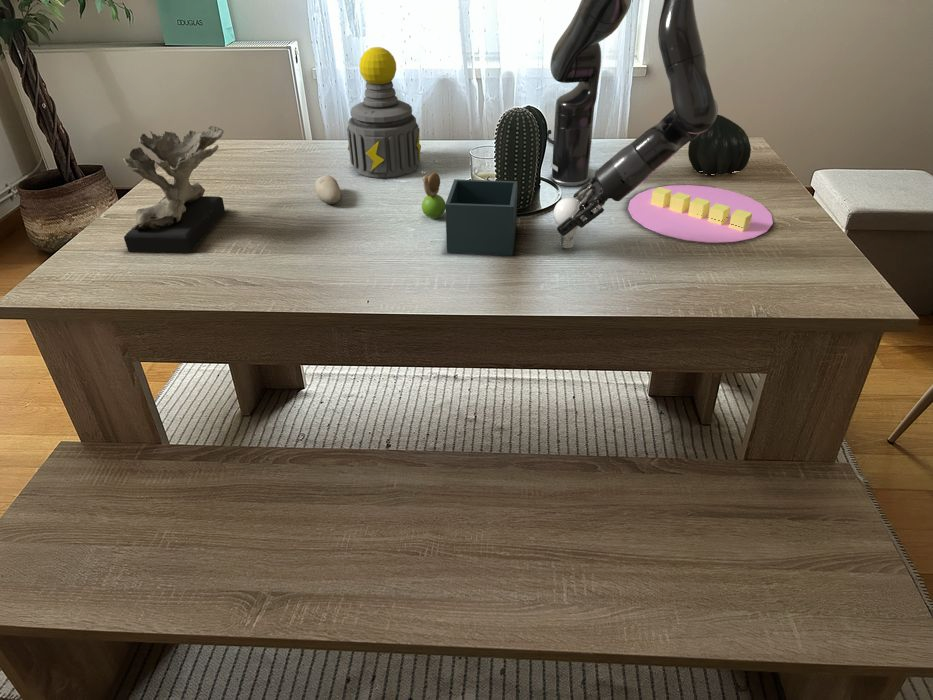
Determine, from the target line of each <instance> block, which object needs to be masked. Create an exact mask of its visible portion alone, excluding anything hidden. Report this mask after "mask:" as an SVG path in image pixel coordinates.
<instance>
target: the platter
mask: <svg viewBox="0 0 933 700" xmlns="http://www.w3.org/2000/svg"><path fill="white" fill-rule="evenodd" d="M627 211H628V212H629V214H630V216H631V218H632V219H633V220H634V221H636V222H637V223H638V224H640V225H641V226H642V227H644V228H645V229H648V230H650V231H653V232H654V233H657V234H659V235H662V236H665V237H669V238H674V239H678V240H682V241H688V242H696V243H697V242H698V243H706V244H722V243H723V244H726V243H738V242H743V241H747V240H753V239H755V238H757V237H760V236H761V235H764V234H765V233H767V232H768V231H769V230H770V228H771V227H772V226H773V224H774V220H773V214H772V212H770V210H768V208H766V206H765V205H764V204H762V203H760V202H758V201H756V200H755V199H753V198H751V197H750V196H747V195H745V194H741V193H738V192H735V191H732V190H728V189H723V188H717V187H713V186H705V185H695V184H677V185H675V184H673V185H665V186H659V187H652V188H649V189H647V190H644V191H641V192H638V193H637V194H635V196H633V197H632V198H631V199H629V204H628V208H627ZM707 211H708V212H707ZM706 212H707V213H706ZM697 214H698V215H697ZM703 214H704V215H703ZM701 215H702V216H701ZM708 217H709V218H708ZM726 217H728V218H726ZM711 218H713V219H711ZM725 218H726V219H725ZM714 219H716V220H714ZM724 219H725V220H724ZM718 220H720V221H718ZM722 220H723V221H722ZM721 221H722V222H721ZM729 223H730V224H729ZM749 223H750V224H749ZM731 224H734V225H731ZM747 224H749V225H747ZM735 225H737V226H735ZM746 225H747V226H746ZM738 226H740V227H738ZM745 226H746V227H745ZM741 227H744V228H741Z"/></svg>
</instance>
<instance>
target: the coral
mask: <svg viewBox="0 0 933 700" xmlns="http://www.w3.org/2000/svg"><path fill="white" fill-rule="evenodd" d="M207 129H208V130H207V131H195V130H190V129H189V130H188V131H187V134H185V135H184V136H183V138H182V141H181V140H180V138H179V137H180V136H179V135H177V133H175V132H173V131H164V132H163V133H162V134H156V133H153V131H151V130H150V131H149V133H150V136H151V137H149V136H148V135H146V133H141V136H139V138H138V142H139V143H140V145H142V146H143V147H144V148H146V149H148V150H150V151H151V152H152V153H153V154H154V155H155V156H156V157H157V159H152V158H151V157H150V156H149V155H148V153H145V151H144V150H143V148H142V147H140V146H138V147H134V148H131V149H130V150H129V154H127V156H128V157H129V158H125V157H123V159H122V160H123V162H124V164H125V165H126V166H127V167H128V168H129V169H130V170H131V171H132V172H134V173H136V174H137V175H139V176H140V177H141V178H143V179H144V180H146V181H149V182H151V183H153V184H155V185H156V186H158V187H159V188H160V189H161V190H162V192H163V194H164V197H163V198H161V200H160V201H159V202H158V203H156V204H154V205H152V206H149V207H142V208H138V209H137V210H136V212H135V221H136V222H135V225H134V226H133V227H132V228H131V229H130V230H128V232H127V233H126V234H125V235H124V236H123V240H124V243H125V246H126V248H127V252H129V253H166V254H167V253H169V254H170V253H172V254H191V253H192V252H193V251H194V250H195V248H196V247H197V246H198V245H199V243H200V242H201V241H202V240H203V238H204V237H206V235H207V234H208V232H209V231H210V230H211V229H212V228H213V226H215V224H216V223H217V222H218V220H219V219H221V217H222V216H223V214H225V212H226V209H225V204H224V199H223V197H222V196H219V195H217V196H215V195H214V196H212V195H211V196H210V195H205V192H206V189H205V188H204V187H203V186H202V185H201V183H199V182H194V183H193V184H191V183H190V177H191V175H192V173H193V171H194V170H195V169H197V168H198V167H199V165H200V164H202V162H203V161H204V160H206V159H207V158H210V157H211V156H213V155H214V154H215V152H217V151H218V149H219V145H218V144H216V145H214V146H213V147H212V148H208V147H210V146H212V145H213V144H215V143H216V142H217V141H218V140H219V139H221V138H222V137H223V134H225V133H224V132H225V131H224V129H222V128H220V127H217V126H215V125H210V126H208V127H207ZM207 148H208V149H207ZM155 164H156V165H157V166H159V168H161V169H162V170H164V172H165V173H166V174H167V175H168V176H170V177H172V178H173V182H171V183H170V182H168V180H167V179H166V178H165V177H164V176H163V175H161V174H158V173H157V170H156V165H155Z"/></svg>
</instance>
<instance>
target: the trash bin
mask: <svg viewBox="0 0 933 700" xmlns="http://www.w3.org/2000/svg"><path fill="white" fill-rule="evenodd" d="M518 184H519V183H518V180H489V179H488V180H487V179H486V180H484V179H483V180H482V179H459V178H458V179H457V178H455V179H454V180H453V182H452V185H451V187H450V191H449V193H448V196H447V199H446V201H445V237H446V239H445V240H446V254H456V255H457V254H458V255H459V254H460V255H481V256H503V257H505V256H506V257H512V256H513V254H514V246H515V239H516V233H517V232H516V231H517V217H518V214H517V213H518V212H517V211H518Z"/></svg>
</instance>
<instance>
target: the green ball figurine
mask: <svg viewBox="0 0 933 700" xmlns="http://www.w3.org/2000/svg"><path fill="white" fill-rule="evenodd" d="M427 173H428V172H427V171H423V170H422V171H421V174H422V175H423V176H422V182H423V189H424V192H425V194H426V196H424V198H423V200H422V202H421V210H422V212H423V214H424V215H425V216H426V217H427V218H429V219H438V218H440V217H441V216H443V215H444V213H446V209H445V204H446V201H445V199H444V198H443V197H442V196H441V195H440V194H438V193H439V191H440V185H441V177H440V175H439V173H438V172H431V173H430V174H429V176H427Z"/></svg>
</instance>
